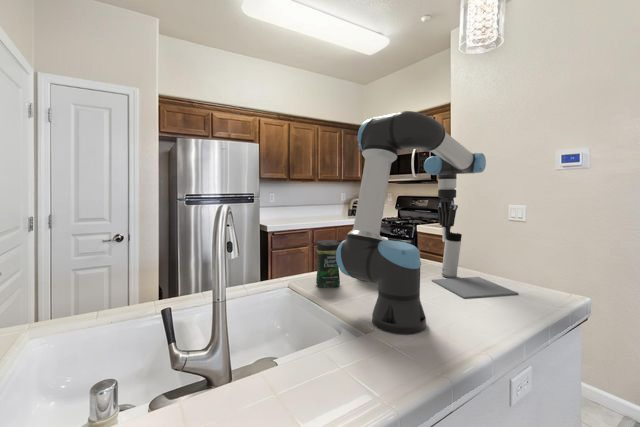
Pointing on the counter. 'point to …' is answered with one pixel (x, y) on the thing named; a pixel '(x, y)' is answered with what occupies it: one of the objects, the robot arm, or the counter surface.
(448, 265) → the travel mug
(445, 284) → the mat
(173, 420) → the counter surface
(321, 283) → the coffee jar
